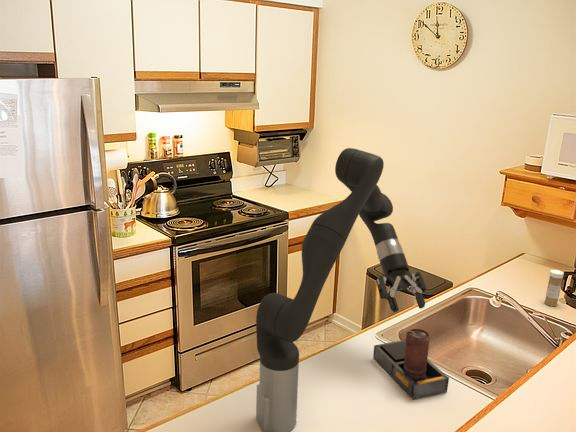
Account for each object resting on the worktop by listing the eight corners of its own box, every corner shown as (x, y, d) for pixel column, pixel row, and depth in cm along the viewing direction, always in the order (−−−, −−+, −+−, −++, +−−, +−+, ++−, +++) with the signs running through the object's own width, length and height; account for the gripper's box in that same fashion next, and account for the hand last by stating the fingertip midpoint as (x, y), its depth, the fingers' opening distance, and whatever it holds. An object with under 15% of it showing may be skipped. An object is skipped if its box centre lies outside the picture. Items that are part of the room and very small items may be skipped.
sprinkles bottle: (547, 300, 198) (553, 268, 194) (559, 304, 194) (566, 272, 191) (542, 303, 195) (548, 270, 191) (554, 307, 191) (560, 274, 188)
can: (402, 370, 146) (407, 326, 143) (425, 375, 144) (430, 330, 141) (400, 382, 140) (405, 335, 137) (424, 386, 139) (429, 340, 135)
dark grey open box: (412, 400, 135) (414, 383, 133) (372, 358, 153) (373, 343, 152) (447, 392, 138) (449, 376, 137) (404, 352, 157) (405, 338, 156)
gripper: (375, 254, 145) (393, 308, 138) (418, 249, 150) (437, 301, 143) (365, 264, 151) (381, 317, 144) (406, 260, 156) (424, 310, 149)
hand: (409, 309), depth 143 cm, fingers open, 8 cm apart
